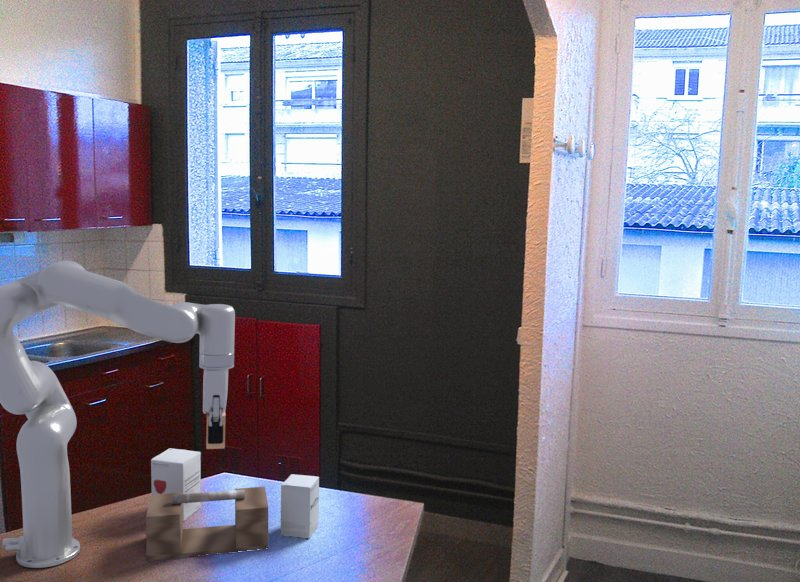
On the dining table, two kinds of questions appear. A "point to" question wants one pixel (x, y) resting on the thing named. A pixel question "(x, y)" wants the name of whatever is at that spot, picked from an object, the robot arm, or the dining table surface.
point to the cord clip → (222, 445)
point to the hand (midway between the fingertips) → (215, 437)
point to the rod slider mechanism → (177, 542)
